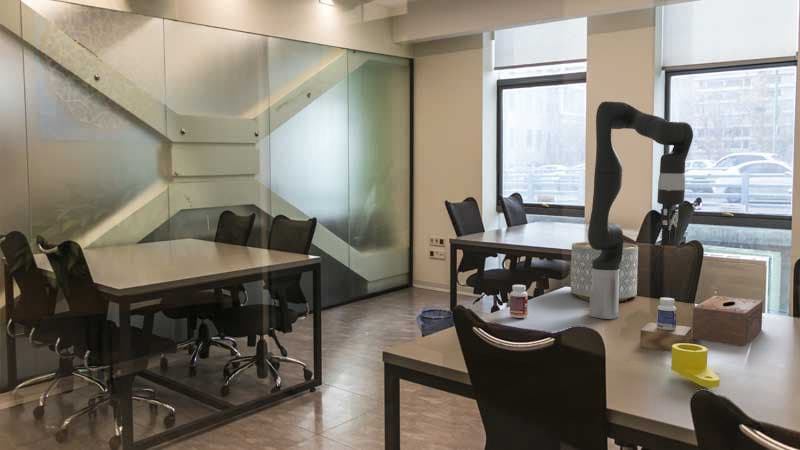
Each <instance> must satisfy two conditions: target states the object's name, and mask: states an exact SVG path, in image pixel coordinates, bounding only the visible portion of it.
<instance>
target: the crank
mask: <svg viewBox="0 0 800 450" xmlns="http://www.w3.org/2000/svg"><path fill="white" fill-rule="evenodd" d="M708 349H709V348H707V347H705V346H703V345H700V344H695V343H691V344H687V343H679V344H673V345H672V351H671V361H670V362H671V363H670V364H671V366H670V367H671V368H670V369H671V371H673V372H675V373H677V374H679V375H680V376H682V377H684V378H686V379H687V380H690V381H692V382H694V383H695V384H697V385H699V386H701V387H706V388H718V387H720V377H719V376H718V375H717V374H716V373H715V372H714V371H713V370H712V369H711V368H710V367H709V365H708Z"/></svg>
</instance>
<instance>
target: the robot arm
mask: <svg viewBox="0 0 800 450" xmlns="http://www.w3.org/2000/svg"><path fill="white" fill-rule="evenodd" d="M595 127H596V128H595V132H596V133H595V135H596V136H595V138H596V144H595V145H596V146H595V147H596V148H595V149H596V150H595V164H594V176H593V180H594V181H593V196H592V205H591V212H590V218H589V219H590V220H589V223H588V229H587V230H588V231H587V239H588V241H587V242H589V244H590V246H591V247H592V248H593V249H595V250H602V252H601V254H600V255H599V256H598V257H597V258H596V259H594V260H593V262H592V289H591V290H590V300H589V311H588V312H589V314H588V315H589V317H592V318H597V319H604V320H613V319H614V320H615V319H617V318H619V302H620V301H619V266H620V263H621V261H622V252H623V243H624V232H623V229H622V227H621V226H620V225H619V224H617V223H613V222H611V223H610V222H609V215H610V214H609V213H610V211H611V208H612V205H613V203H614V202H615V200H616V199H617V197H618V195H619V194H620V191H621V188H622V184H623V181H622V180H623V165H622V162H621V160H620V158H619V156H618V154H617V151H616V150H615V148H614V145H613V140H612V138H613V137H612V131H613V130H623V129H625V130H626V129H631V130H635V132H636V133H637V134H639V135H640V136H643V137H645V138H648V139H650V140H651V139H652V141H654V142H655V143H657V144H659V145H662V146H673V147H672V149H671V151H670V152H668V153H665V154H662V155H661V157H660V163H659V176H658V184H657V199H656V202H657V203H658V204H659V205H664V206H663V208H660V222H659V229H661V240H660V241H661V243H662V244H670V241H675V240H676V236H677V235H676V234H677V233H676V232H677V228H678V226H679V211H680V207H679V206H680V205H681V206H682V205H684V204H685V194H686V193H685V191H686V189H685V188H686V176H685V175H686V174H685V173H686V159H687V157H688V156H689V155H688V154H689V151H690V148H691V146H692V142H693V140H694V130H693V127H692V126H691V124H689V123H688V122H685V121H668V120H666V119H665V118H663V117H662V116H661V117H660V116H657V115H654V114H649V113H647V112H646V113H645V112H642V111H640V110H638V109H637V108H636V107H634V106H632V105H630V104H628V103H626V102H622V101H621V102H620V101H602V102H601V103H599V105H598V107H597V109H596V115H595Z"/></svg>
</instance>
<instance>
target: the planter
mask: <svg viewBox="0 0 800 450" xmlns="http://www.w3.org/2000/svg"><path fill="white" fill-rule="evenodd" d="M601 252H602V250H595V249H593V248H592V247H591V246H590V244H589V241H582V242H573V243H571V259H570V260H571V262H570V263H571V264H570V266H571V267H570V269H571V270H570V293H572V294H573V295H576V296H577V297H578V298H580V299H581V300H585V301H590V290H591V289H592V262H593V260H594V259H596V258H597V257H598V256H599V255H600V254H601ZM638 259H639V246H638V245H637V244H632V243H628V242H627V243H626V242H623V252H622V261H621V263H620V266H619V302H624V300H625V301H628V300H629V299H630V298H634V297H636V296H637V295H638V292H637V291H638V268H639V267H638V263H639V262H638V261H639V260H638ZM628 298H629V299H628ZM627 299H628V300H627Z"/></svg>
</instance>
